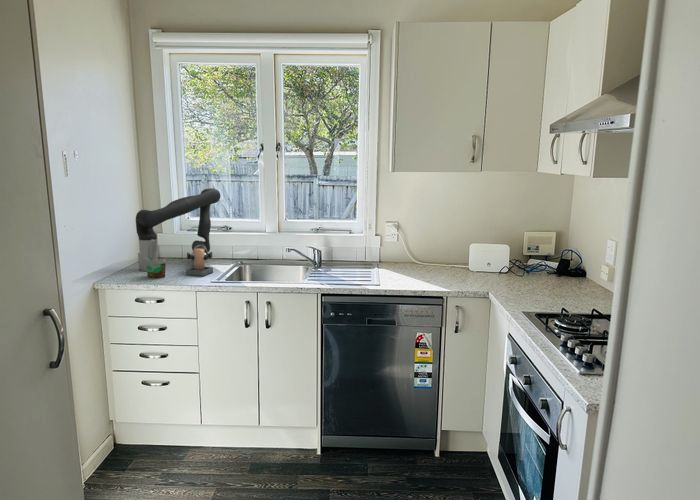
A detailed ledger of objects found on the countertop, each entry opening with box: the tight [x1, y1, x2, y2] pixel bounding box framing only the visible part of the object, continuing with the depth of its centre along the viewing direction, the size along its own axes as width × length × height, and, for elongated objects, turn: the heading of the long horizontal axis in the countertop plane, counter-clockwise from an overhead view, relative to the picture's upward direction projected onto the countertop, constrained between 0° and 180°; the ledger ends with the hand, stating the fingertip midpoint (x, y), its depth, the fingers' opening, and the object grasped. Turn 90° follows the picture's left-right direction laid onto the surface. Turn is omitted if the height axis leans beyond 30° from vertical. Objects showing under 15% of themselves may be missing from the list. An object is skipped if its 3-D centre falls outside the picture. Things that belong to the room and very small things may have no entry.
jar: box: [193, 248, 206, 271], centre depth 256 cm, size 6×6×12 cm
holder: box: [185, 266, 214, 278], centre depth 257 cm, size 10×10×3 cm
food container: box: [144, 257, 168, 280], centre depth 246 cm, size 12×6×10 cm, turn 73°
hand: (199, 258), depth 254 cm, fingers open, 6 cm apart
